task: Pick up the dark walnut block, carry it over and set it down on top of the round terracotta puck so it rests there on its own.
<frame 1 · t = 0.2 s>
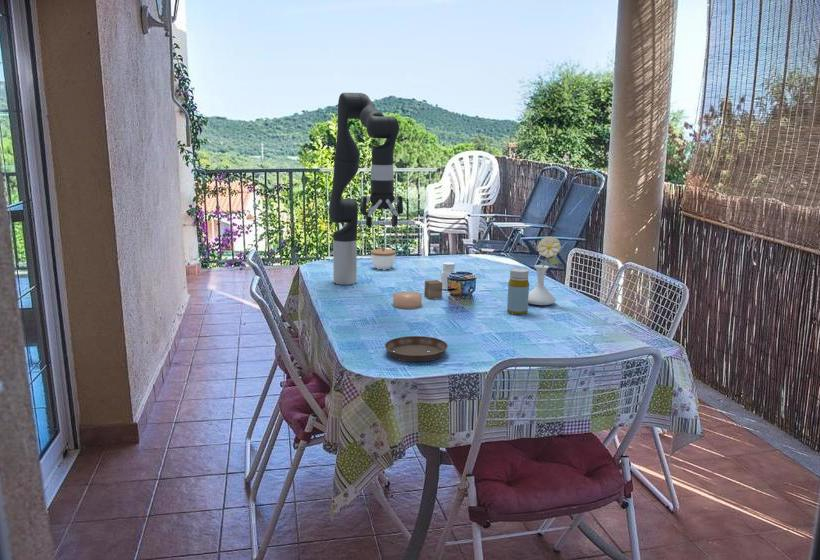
hand: (381, 227, 246), 29 cm above the table, tool pointing down, fingers open, 8 cm apart
plant saucer: (416, 355, 208), on the table
bottle: (517, 313, 254), on the table
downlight: (447, 288, 287), on the table
lidded jar: (383, 269, 321), on the table
walnut block: (433, 297, 273), on the table
flower in vase: (541, 304, 266), on the table
terracotta puck: (407, 305, 261), on the table
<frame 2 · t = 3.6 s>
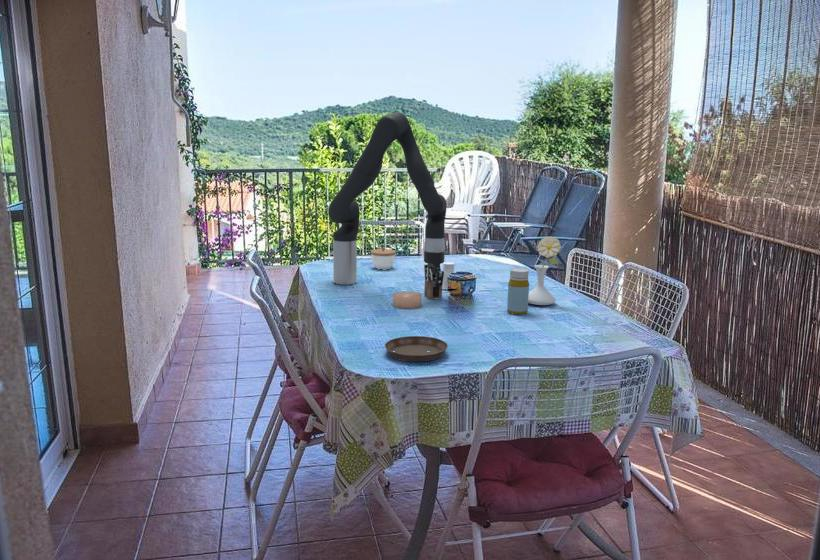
hand: (433, 294, 272), 1 cm above the table, tool pointing down, fingers closed on walnut block, 5 cm apart
walnut block: (433, 297, 273), on the table, touching gripper
everything else where it was.
when the fingers open (6 cm above the table, at t = 8.1 s): walnut block drops 1 cm, resting on terracotta puck.
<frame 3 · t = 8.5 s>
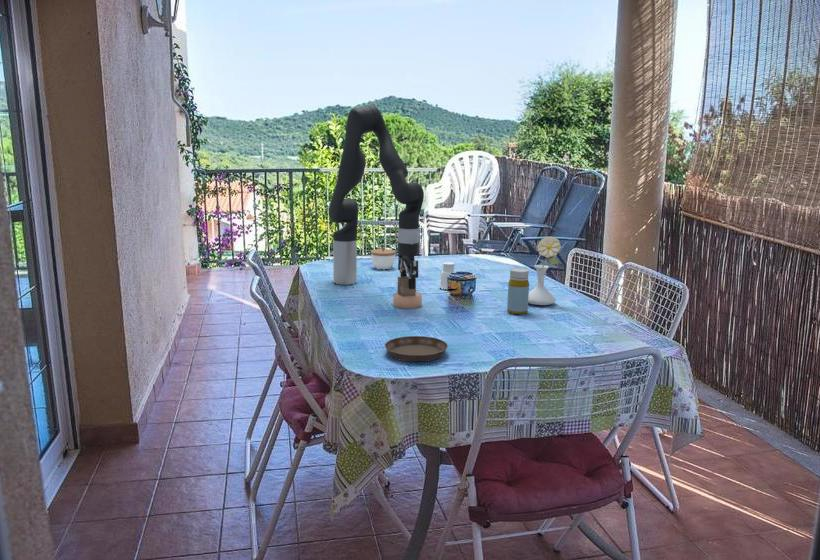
hand: (407, 286, 259), 7 cm above the table, tool pointing down, fingers open, 8 cm apart
walnut block: (406, 294, 260), point 4 cm above the table, touching terracotta puck
terracotta puck: (407, 305, 261), on the table, touching walnut block
everything else where it was.
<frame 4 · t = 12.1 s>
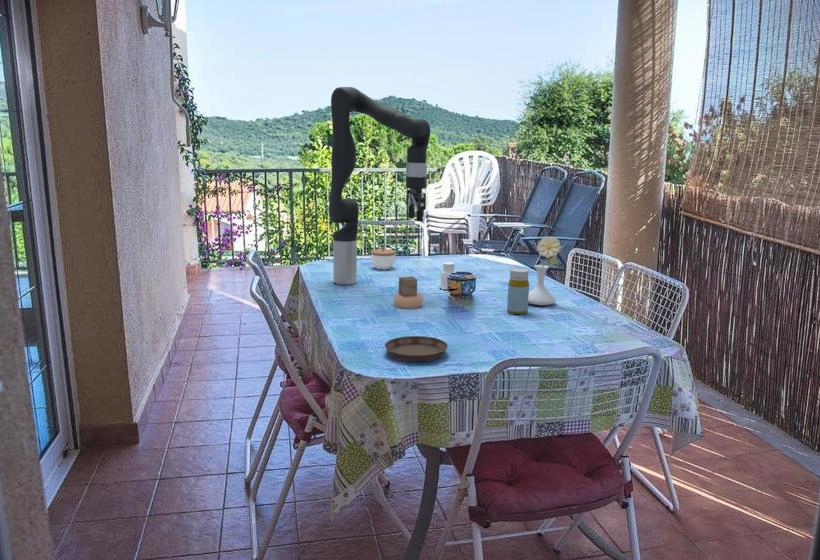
hand: (415, 219, 271), 28 cm above the table, tool pointing down, fingers open, 8 cm apart
nothing on the table moved.
at the end: walnut block inside the target area on the terracotta puck (0.3 cm from its centre), point 4.0 cm above the terracotta puck's base; walnut block tilted 0°; the gripper is holding nothing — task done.
